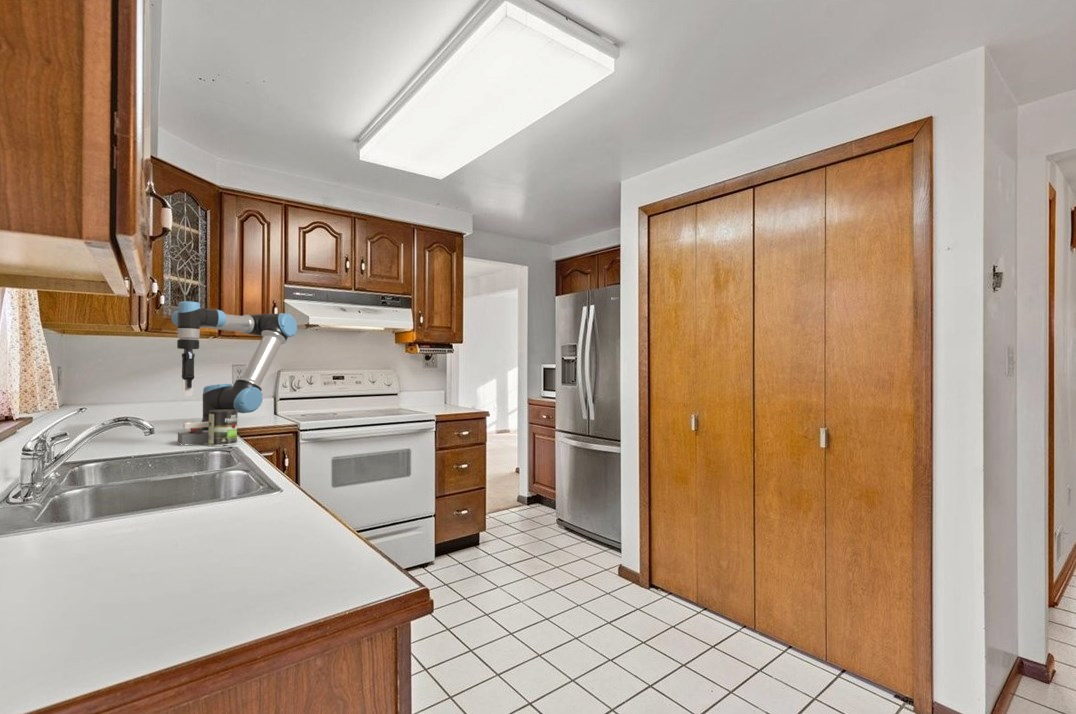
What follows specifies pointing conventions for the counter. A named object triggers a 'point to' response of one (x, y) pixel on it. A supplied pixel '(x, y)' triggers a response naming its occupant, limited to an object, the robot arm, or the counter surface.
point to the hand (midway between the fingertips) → (187, 395)
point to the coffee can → (222, 427)
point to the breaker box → (193, 437)
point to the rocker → (195, 425)
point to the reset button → (193, 430)
